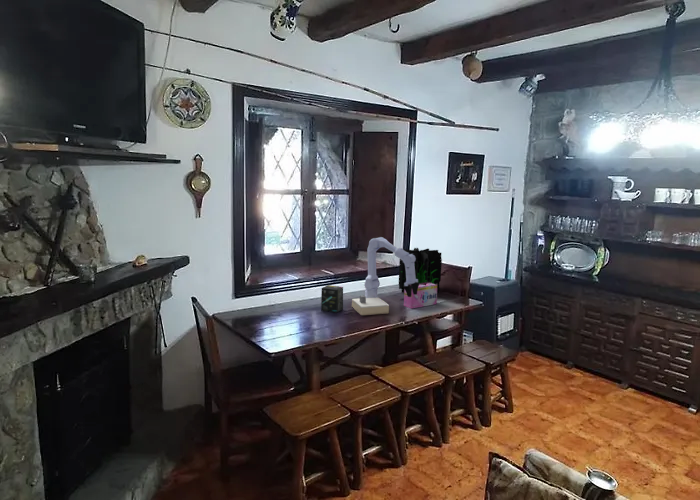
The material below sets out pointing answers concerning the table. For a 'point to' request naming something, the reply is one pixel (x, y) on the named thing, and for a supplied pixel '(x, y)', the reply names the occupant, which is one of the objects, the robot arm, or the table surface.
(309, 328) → the table surface
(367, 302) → the lid
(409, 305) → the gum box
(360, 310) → the beige wooden tray
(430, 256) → the decorative plant
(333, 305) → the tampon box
